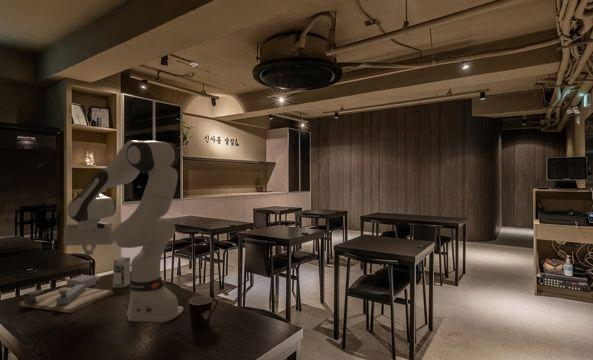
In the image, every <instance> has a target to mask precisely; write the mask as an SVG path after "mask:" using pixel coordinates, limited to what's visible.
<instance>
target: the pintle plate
mask: <svg viewBox="0 0 593 360" xmlns="http://www.w3.org/2000/svg"><path fill="white" fill-rule="evenodd" d="M72 287H74V286H67V285H66V286H63V287H59V288H58V289H54V290H52V291H49V292H46V291H45V290H43V289H36V290H31V291H30V292H27V293H24V294H23V301H20V302H19V306H20V307H25V308H32V309H40V310H48V311H54V312H61V313H68V314H71V313H73V312H76V311H77V310H80V309H82V308H85V307H87V306H89V305H91V304H94V303H95V302H98V301H100V300H103V299H105V298H107V297H110V296H112V295H114V290H109V289H100V288H99V289H98V288H90V287H88V288H86V290H84V291H83V292H82V293H80V294H79V295H78V296H77V297H75V298H74V299H73V300H71V302H70V303H68V304H65V305H56V298H57V297H59V296H61V298H63V297H66V292H68V290H70V289H71V288H72Z"/></svg>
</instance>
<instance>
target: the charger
mask: <svg viewBox="0 0 593 360" xmlns="http://www.w3.org/2000/svg"><path fill="white" fill-rule="evenodd" d="M100 279H101V276H98V275H89V274H82V275H79V276H77V277H76V276H75V277H73V278H70V279H67V280H66V286H75V285H82V284H86V288H90V287H94V286H96V285H97V281H99V280H100Z"/></svg>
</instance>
